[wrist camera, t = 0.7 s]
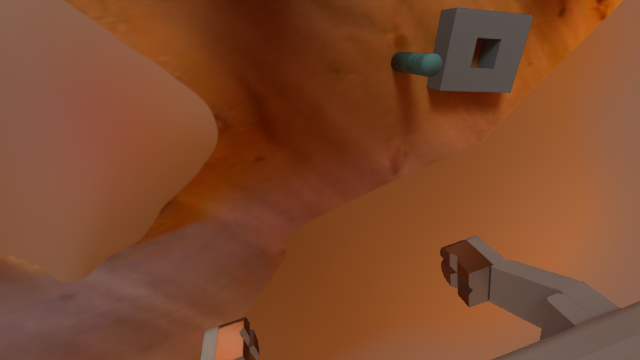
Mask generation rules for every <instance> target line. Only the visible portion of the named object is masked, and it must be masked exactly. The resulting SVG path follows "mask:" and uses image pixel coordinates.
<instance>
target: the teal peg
mask: <svg viewBox="0 0 640 360" xmlns="http://www.w3.org/2000/svg"><path fill="white" fill-rule="evenodd" d="M391 66H392V68H393V69H394V70H395V71H399V72H405V73H410V74H416V75H422V76H428V77H433V76H435V75H437V74H438V73H439V72H440V70H441V68H442V59H441V57H440V56H439V55H438V54H432V53H410V52H398V53H396V54H395V55H394V56H393V58H392V60H391Z"/></svg>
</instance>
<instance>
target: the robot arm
mask: <svg viewBox="0 0 640 360" xmlns="http://www.w3.org/2000/svg"><path fill="white" fill-rule="evenodd" d="M440 255H441V256H442V258H443V261H442V263H441V269H442V272H443V275H444V277H445V279H446V280H447V282H448V283H449V284H450V285H451V286H453V287H455V288H457V289H458V295H459V296H460V297H461V298H462V300H463V301H464V302H465V303H466V304H467V306H468V307H471V306H474V305H477V304H480V303H483V302H486V301H489V302H491V303H493V304H495V305H497V306H499V307H501V308H503V309H505V310H507V311H508V312H510V313H512V314H514V315H516V316H518V317H520V318H522V319H524V320H526V321H528V322H530V323H532V324H534V325H536V326H537V327H540V328H541V329H542V331H541V336H540V341H538V342H535V343H533V344H530V345H528V346H525V347H523V348H520V349H517V350H515V351H512V352H510V353H507V354H505V355H502V356H500V357H497V358H495V359H492V360H640V301H639V302H636V303H634V304H631V305H628V306H626V307H624V308H619V307H618V306H617V305H615V304H614V303H612V302H611V301H610V300H608V299H607V298H606V297H604V296H603V295H601V294H600V293H599V292H597V291H596V290H594V289H593V288H592V287H590V286H589V285H587V284H586V283H584V282H582V281H579V280H576V279H572V278H569V277H566V276H563V275H559V274H556V273H553V272H549V271H546V270H543V269H540V268H536V267H533V266H530V265H526V264H523V263H520V262H517V261H513V260H506V259H504V258H503V257H502V256H501V255H500V254H498V253H497V252H496V251H495V250H493V249H492V248H491V247H490V246H488V244H486V243H485V242H484V241H483V240H482V239H480V238H479V237H477V236H473V237H470V238H467V239H465V240H462V241H459V242H456V243H453V244H451V245H448V246H445V247H442V248H441V250H440ZM258 358H259V345H258V340H257V337H256V334H255V332H254V330H252V329H250V323H249V321H248V319H247V318H246V317H244V318H241V319H238V320H235V321H232V322H229V323H226V324H223V325H220V326H217V327H214V328H211V329H208V330H206V332H205V334H204V340H203V346H202V353H201V359H200V360H258Z"/></svg>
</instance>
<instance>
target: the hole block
mask: <svg viewBox="0 0 640 360" xmlns="http://www.w3.org/2000/svg"><path fill="white" fill-rule="evenodd" d="M533 16H534V15H526V14H516V13H506V12H496V11H486V10H476V9H467V8H452V9H446V10H442V11H441V16H440V21H439V27H438V32H437V37H436V42H435V47H434V53H433V54H438V55H439V56H440V57H441V59H442V68H441V70H440V72H439V73H438V74H437V75H435V76H433V77H429V79H428V84H427V88H431V89H435V90H439V91H468V92H501V93H510V92H511V88H512V85H513V82H514V79H515V75H516V72H517V69H518V65H519V62H520V59H521V56H522V52H523V49H524V46H525V42H526V39H527V36H528V32H529V29H530V26H531V23H532V19H533ZM477 39H481V40H484V42H483V46H482V50H481V54H480V58H479V62H478V66H477V67H471V63H472V59H473V55H474V51H475V46H476V42H477Z"/></svg>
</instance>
